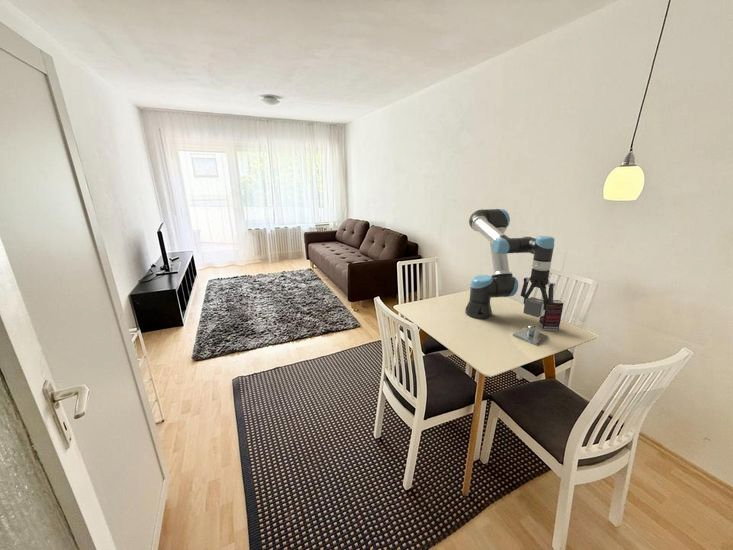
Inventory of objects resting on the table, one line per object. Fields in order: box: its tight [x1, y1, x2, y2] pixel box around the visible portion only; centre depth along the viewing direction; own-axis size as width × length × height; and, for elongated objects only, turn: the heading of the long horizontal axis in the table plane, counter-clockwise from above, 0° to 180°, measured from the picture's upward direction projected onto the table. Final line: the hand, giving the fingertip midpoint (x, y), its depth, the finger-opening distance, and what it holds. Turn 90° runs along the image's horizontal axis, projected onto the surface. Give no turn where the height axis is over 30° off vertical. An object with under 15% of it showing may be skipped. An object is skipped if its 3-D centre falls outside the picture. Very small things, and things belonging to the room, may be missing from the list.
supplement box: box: [538, 299, 564, 331], centre depth 158 cm, size 9×5×16 cm, turn 84°
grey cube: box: [523, 296, 544, 318], centre depth 147 cm, size 7×7×7 cm
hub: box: [512, 324, 549, 346], centre depth 151 cm, size 12×12×6 cm
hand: (533, 312), depth 148 cm, fingers closed on grey cube, 7 cm apart
